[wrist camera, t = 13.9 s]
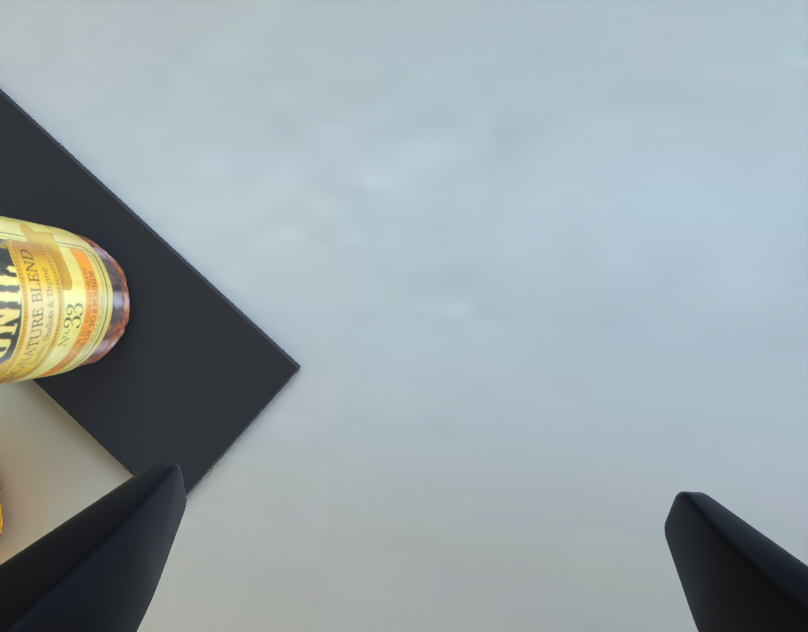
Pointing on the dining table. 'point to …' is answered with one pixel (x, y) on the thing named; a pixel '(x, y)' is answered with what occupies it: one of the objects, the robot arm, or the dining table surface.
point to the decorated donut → (1, 518)
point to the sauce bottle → (56, 301)
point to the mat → (143, 322)
